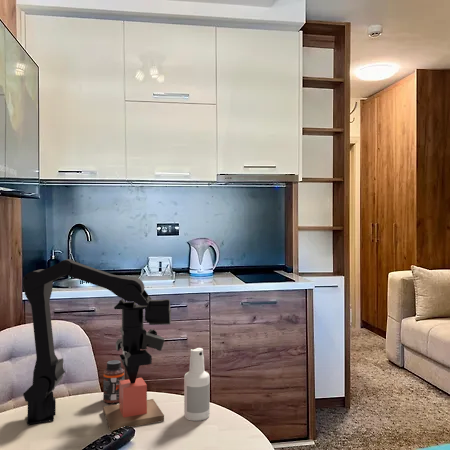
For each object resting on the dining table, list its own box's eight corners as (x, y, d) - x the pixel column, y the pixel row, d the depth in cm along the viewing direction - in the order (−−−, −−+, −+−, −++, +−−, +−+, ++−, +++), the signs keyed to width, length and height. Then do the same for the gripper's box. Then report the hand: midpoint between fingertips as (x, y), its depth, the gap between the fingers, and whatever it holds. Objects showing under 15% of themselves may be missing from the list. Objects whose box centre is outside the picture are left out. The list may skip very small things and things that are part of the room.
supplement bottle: (118, 405, 127) (118, 365, 127) (99, 403, 128) (99, 364, 128) (127, 397, 133) (127, 359, 133) (109, 395, 134) (108, 358, 134)
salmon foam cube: (123, 417, 115) (123, 388, 115) (119, 408, 121) (119, 380, 121) (146, 413, 117) (146, 384, 117) (141, 404, 123) (141, 377, 123)
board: (109, 430, 111) (109, 424, 111) (103, 412, 122) (103, 406, 122) (164, 420, 116) (164, 415, 116) (153, 404, 127) (153, 398, 127)
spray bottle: (194, 423, 114) (194, 354, 115) (179, 415, 120) (179, 349, 120) (214, 416, 119) (214, 349, 119) (199, 408, 124) (199, 344, 124)
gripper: (171, 329, 114) (171, 390, 114) (153, 316, 131) (153, 368, 131) (127, 333, 109) (127, 396, 109) (115, 319, 126) (115, 373, 126)
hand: (132, 382), depth 119 cm, fingers closed, pressing on salmon foam cube
